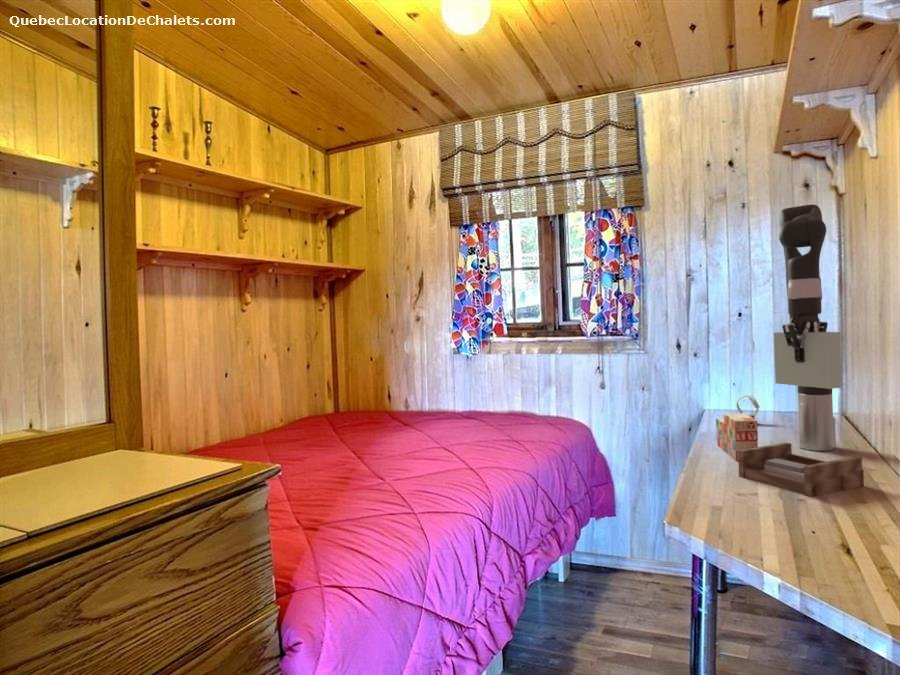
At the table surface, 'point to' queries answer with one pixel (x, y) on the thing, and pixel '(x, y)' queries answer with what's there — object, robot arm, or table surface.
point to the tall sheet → (809, 361)
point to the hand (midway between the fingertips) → (806, 361)
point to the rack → (816, 472)
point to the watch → (752, 403)
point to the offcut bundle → (785, 468)
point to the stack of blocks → (736, 433)
